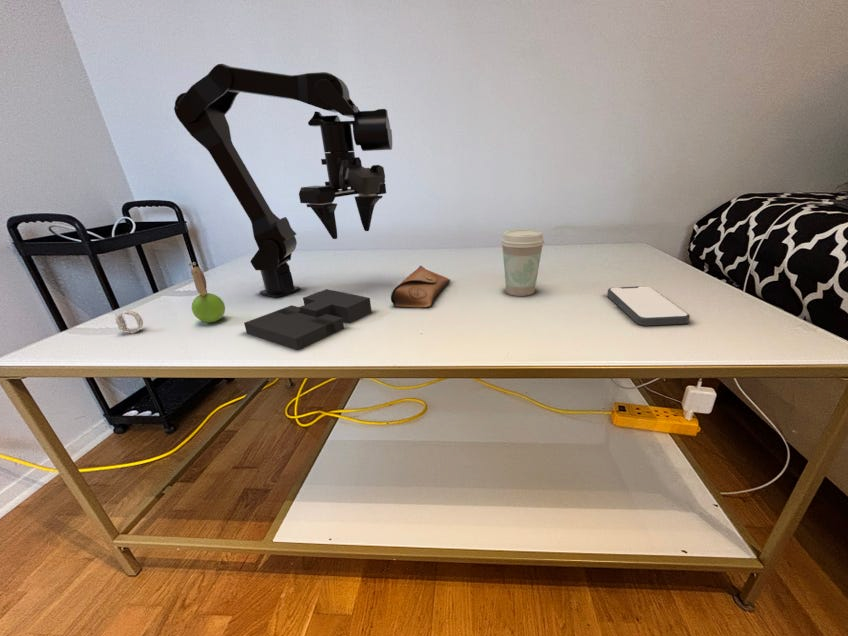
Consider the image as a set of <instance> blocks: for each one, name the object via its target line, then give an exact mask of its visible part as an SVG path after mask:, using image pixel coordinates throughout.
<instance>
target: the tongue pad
mask: <svg viewBox="0 0 848 636" xmlns="http://www.w3.org/2000/svg"><path fill="white" fill-rule="evenodd" d="M302 301H303V305H301V306H299V307H300V311H301V313H302V314H306V315H310V316H314V317H320V316H322V315H325V314H329V315H333V316H337V317H341V318H343V323H347V324H350V323H353V322H355V321H357V320H360V319H362V318H363V317H366V316H368V315H369V314H371V313H373V311H372V303H371V298H370V297H367V296H363V295H357V294H352V293H347V292H343V291H338V290H334V289H333V290H332V289H329V288H326V289H323V290H320V291H318V292H315V293H312V294H309V295H306V296H304V297H302Z"/></svg>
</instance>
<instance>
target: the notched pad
mask: <svg viewBox="0 0 848 636" xmlns="http://www.w3.org/2000/svg"><path fill="white" fill-rule="evenodd" d="M300 307H301V306H297V305H289V306H286V307H283V308H280V309H277V310H275V311H272V312H269V313H267V314H264V315H261V316H259V317H256V318H253V319H250V320H248V321H245V322H243V323H244V328H245V331H246V334H248V335H251V336H254V337H257V338H260V339H263V340H266V341H269V342H271V343H276V344H279V345H281V346H285V347H287V348H290V349H293V350H296V351H300V350H302V349H304V348H305V347H308V346H309V345H311V344H314V343H316V342H318V341H320V340H323V339H324V338H327V337H329V336H331V335H333V334H335V333H338V332H339V331H342V330H343V329H345V324H344V322H343V318H341V317H337V316H333V315H329V314H325V315H322V316H320V317H314V316H310V315H306V314H302V313H301V311H300Z"/></svg>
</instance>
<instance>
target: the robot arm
mask: <svg viewBox="0 0 848 636" xmlns="http://www.w3.org/2000/svg"><path fill="white" fill-rule="evenodd" d="M240 93H243V94H250V95H256V96H264V97H271V98H277V99H284V100H285V99H286V100H293V101H298V102H301V103H304V104H307V105H310V106H312V107H315V108H319V109H321V110H324V111H327V112H330V113H331V112H332V113H338V114H340V115H341V116H344V117H347V118H352V119H353V120H341V119H340V116H338V114H336V115H335V114H334V115H333V114H332V115H323V114H322V113H321V112H320V111H316V110H315V111H314V113H313V116H312V117H311V118H310V120H308V121H307V125H308V126H310V127H314V128H315V127H318V128H319V127H320V134H321V141H322V146H323V153H324V158H321V159H320V161H321V165H322V166H326V171H327V177H328V181H324V185H309V186H302V187H300V189H299V191H298V197H299V202H300V204H306V207H307V208H311V210H312V211H313V213H315V215H316V216H317V217H318V219H319V221H320V222H321V224H323V226H324V228H325V229H326V231H327V232H328V234H329V236H330V237H331V238H332V239H333V240H338V229H337V222H336V213H335V212H336V209H337V207H338V203H336V202H335V203H334V201H335V199H336V198H339V197H346V196H352V195H354V200H355V204H356V207H357V211H358V215H359V218H360V222H361V225H362V228H363V231H364V232H369V231H370V229H371V223H372V218H373V213H374V208H375V207H376V204H377V203H378V202H379V201H380V200H381V199H383V198H384V197H383V195H384V194H385V195H386V194H387V186H386V173H385V168H384V166H382V165H380V164H373V165H371V166H370V167H364V166H363V165H362V159H361V158H360V157H361V156H357V157H356V154H355V146H354V143H355V145H356V146H360V149H361V151H362V152H372V151H389V150H390V151H392V150H393V132H392V128H391V124H390V119H389V114H388V109H386V108H378V109H375V110H360V109H359V107H358V106H357V105H356V103H354V102H353V99H351V97H350V91H349V88H348V86H347V84H346V83H345V82H344V80H342V79H340V77H338V76H336V75H334V74H332V73H330V72H327V71H321V72H319V71H318V72H306V73H301V74H295V75H294V74H293V75H292V74H285V73H277V72H270V71H264V70H256V69H251V68H243V67H235V66H231V65H227V64H224V63H217V64H216V65H214V66H213V67H212V68H211V70H210V71H209V72H208V73H207V74H206V75H204V76H203V77H202V78H200V79H199V80H198V81H196V82H195V83H194V84H192V85H191V86H190V87H189V88H188V90H187V91H186V92H183V93H180V94H179V95H177V96H176V99H175V100H174V107H173V111H174V113H175V117H176V118H177V120H178V122H180V123H181V125H182V126H183V127H184V129H185V130H186V131H187V132H188V133H189V134H190V136H191V137H192V138H193V139H194V140H196V141H197V142H198V143H199V144H200V145H201V146H202V147H203V148H204V149H206V151H208V153H209V155H210V156H211V158H212V159H213V161H214V163H215V164H216V166H217V168H218V169H219V171H220V173H221V174H222V176H223V178H224V180H225V181H226V183H227V184H228V186H229V188H230V189H231V191H232V192H233V194H234V196H235V197H236V200H237V201H238V202H239V204H240V206H241V207H242V209H243V211H244V212H245V214H246V215H247V218H248V219H249V221H250V223H251V228H252V234H253V239H254V241H255V243H256V246H257V248H258V250H257V251H256V252H255V254H254V255H253V256H252V258H251V260H250V264H251V265H252V267H253V268H254V270H255V271H260V275H261V278H262V282H263V286H264V289H262V290H259V294H260V295H263V296H267V297H272V298H280V297H284V296H287V295H289V294H292V293H295V292H297V291H300V290H301V287H300V286H296V285H295V284H294V280H293V275H292V271H291V268H290V265H289V264H288V262H289V261H291V260H292V254H293V253H294V251H295V250H296V248H297V245H298V241H297V239H296V235H297V233H296V231H294V230H293V228H292V227H291V224H290V222H289V219H288V218H287V217H286V216H284V217H282V218H279V216H277V215H276V214H275V213H274V212H273V211H272V209H271V208H270V206H269V204H268V202H267V201H266V199H265V198H264V195H263V194H262V192H261V190H260V188H259V187H258V185H257V183H256V181H255V180H254V178H253V177H252V175H251V173H250V172H249V170H248V168H247V165H246V164H245V163H244V161H243V160H242V158H241V156H240V154H239V152H238V151H237V149H236V147H235V145H234V144H233V141H232V135H231V130H230V125H229V123H228V120H227V118H226V114H227V113H228V112H229V111H231V109H232V106H233V104H234V102H235V100H236V98H237V96H238V95H239V94H240ZM355 195H356V196H355Z"/></svg>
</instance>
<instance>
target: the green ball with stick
mask: <svg viewBox="0 0 848 636" xmlns="http://www.w3.org/2000/svg"><path fill="white" fill-rule="evenodd" d="M196 265H197V262H195V261H193V262H188V263H187V266H189V267H190V273H191V276H192V279H193V284H194V286H195V289H196V291H197V293H198V294H199V295H197V296H196V297H195V298H193V300H192V302H191V311H192V314H193V315H194V317H195V318H196V319H198V320H199V321H201V322H202V323H203V322H204V323H216V322H218V321H219V320H221V319H222V318H223V317H224V315H225V312H226V306H225V302H224V301H223V300H222V299H221V297H220V296H218V295H217V294H214V293H208V289H207V288H208V287H207V280H206V276H205V274H204V271H202V269H201V268H200V267H199V266H196ZM192 266H194V267H193V268H192Z"/></svg>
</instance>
